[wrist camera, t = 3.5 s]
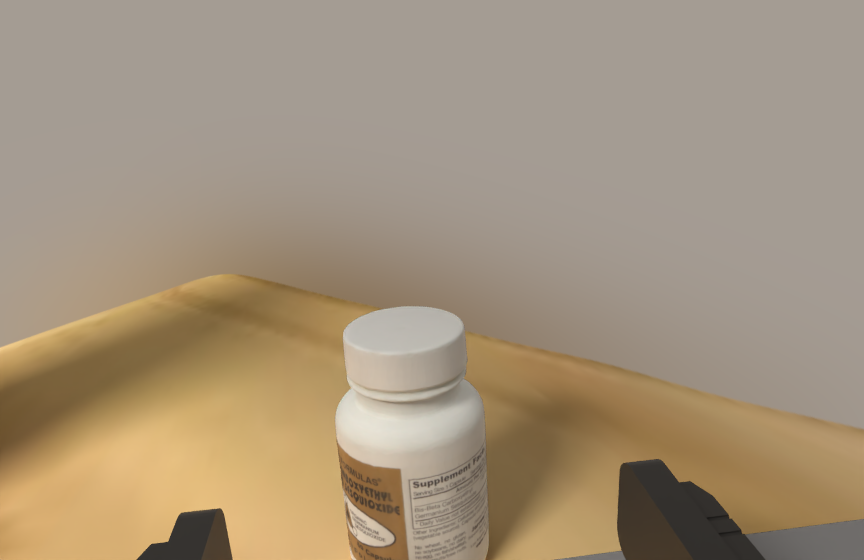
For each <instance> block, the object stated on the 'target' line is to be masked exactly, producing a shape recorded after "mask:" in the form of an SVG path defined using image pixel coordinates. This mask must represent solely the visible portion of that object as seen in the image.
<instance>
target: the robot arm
mask: <svg viewBox="0 0 864 560" xmlns="http://www.w3.org/2000/svg"><path fill="white" fill-rule="evenodd" d="M617 530H618V537H619V542H620V546H621V549H622V552H623V555H624V557H625V559H626V560H765V558H764V557H763V556H762V555H761V554H760V552H759V551H758V550H757V549H756V547H755V546H754V545H753V544H752V543H751V541H750V540H749V539H748V538H747V537H746V535H745V534H742V532H741V529H740V528H739V527H738V526H737V524H736V523H735V522H734V521H733V520H732V519H729V515H728V514H727V512H726V511H725V510H724V509H723V507H722V506H721V505H720V504H719V503H718V501H717V500H716V499H715V498H714V497H713V496H712V495H711V494H709V493H707V492H706V491H704V490H703V489H701V488H700V487H698V486H697V485H695V484H694V483H692V482H690V481H688V482H680V483H679V482H678V481H677V479H676V478H675V477H674V475H673V474H672V473H671V471H670V470H669V469H668V468H667V466H666V465H665V464H664V463H663V461H661V460H659V459H655V460H646V461H637V462H629V463H623V464H622V465H621V468H620V477H619V498H618V519H617ZM137 560H233V559H232V554H231V549H230V543H229V538H228V533H227V528H226V522H225V517H224V514H223V511H222V510H221V509H220V508H219V509H210V510H202V511H193V512H184V513H181V514H180V515H179V516H178V518H177V521H176V523H175V526H174V528H173V531H172V533H171V536H170V539H169V541H168V542H164V543H156V544H151V545H150V546H149V547H148V548H147V549H146V550H145V551H144V552H143V553H142V555H141V556H140V557H139V558H138V559H137Z"/></svg>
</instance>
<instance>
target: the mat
mask: <svg viewBox="0 0 864 560" xmlns="http://www.w3.org/2000/svg"><path fill="white" fill-rule="evenodd" d="M746 537H747V538H748V539H749V540H750V541H751V543H752V544H753V545H754V546H755V547H756V549H757V550H758V551H759V552H760V554H761V555H762V556H763V557H764V558H765V560H864V519H860V520H853V521H845V522H837V523H830V524H822V525H815V526H807V527H799V528H792V529H784V530H777V531H769V532H761V533H754V534H746ZM556 560H626V559H625V557H624V555H623V552H622V551H617V552H609V553H602V554H594V555H587V556H579V557H571V558H564V559H556Z"/></svg>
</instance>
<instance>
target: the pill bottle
mask: <svg viewBox="0 0 864 560" xmlns="http://www.w3.org/2000/svg"><path fill="white" fill-rule="evenodd" d="M343 345H344V356H345V367H346V372H347V381H348V383H349V385H350V387H351V389H350V390H349V391H348V392H347V393H346V394H345V395H344V396H343V398H342V399H341V401H340V403H339V405H338V407H337V410H336V416H335V427H336V437H337V445H338V453H339V462H340V469H341V479H342V487H343V493H344V502H345V511H346V519H347V527H348V537H349V545H350V554H351V558H352V560H485V559H486V556H487V552H488V547H489V520H488V492H487V463H486V433H485V414H484V406H483V402H482V399H481V397H480V395H479V393H478V392H477V390H476V389H475V388H474V387H473V386H472V385H471V384H470V383H469V382H468V381H467V380H465V379H463V378H464V376H465V374H466V364H467V351H466V338H465V328H464V324H463V322H462V320H461V319H460V318H459V317H458V316H456V315H454V314H452V313H451V312H448V311H445V310H441V309H437V308H430V307H424V306H423V307H422V306H403V307H395V308H387V309H382V310H378V311H374V312H371V313H368V314H366V315H363V316H361V317H359V318H357V319H355V320H354V321H352V322H351V323H350V324H349V325H348V326H347V327H346V328H345V330H344V333H343Z"/></svg>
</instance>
